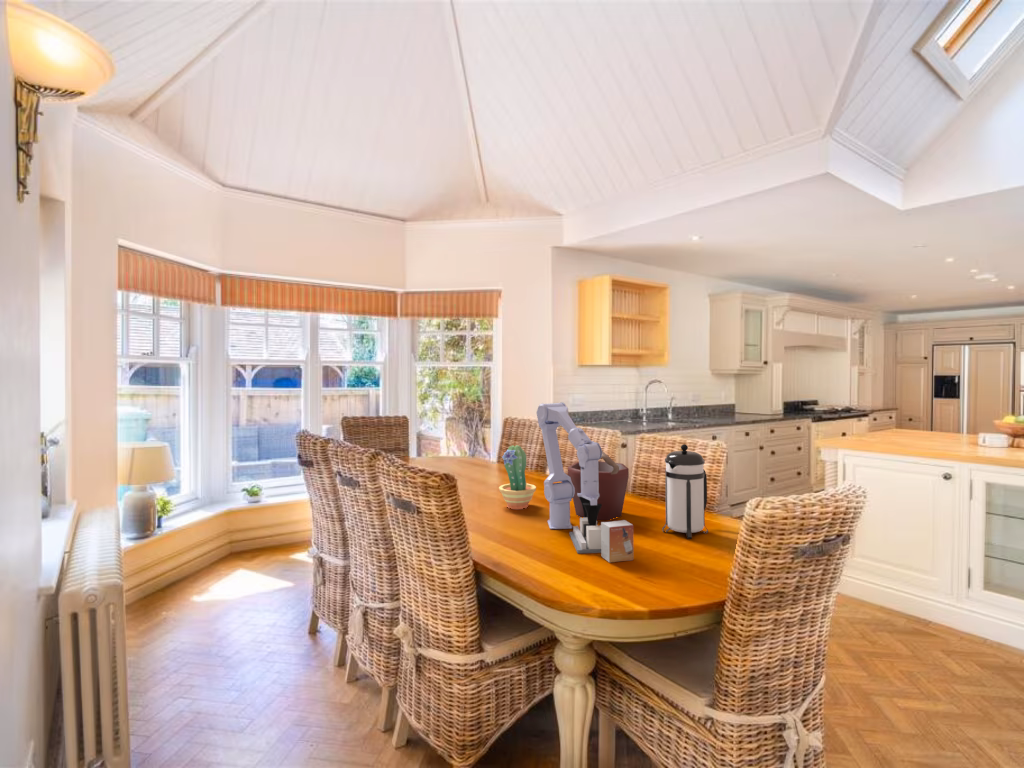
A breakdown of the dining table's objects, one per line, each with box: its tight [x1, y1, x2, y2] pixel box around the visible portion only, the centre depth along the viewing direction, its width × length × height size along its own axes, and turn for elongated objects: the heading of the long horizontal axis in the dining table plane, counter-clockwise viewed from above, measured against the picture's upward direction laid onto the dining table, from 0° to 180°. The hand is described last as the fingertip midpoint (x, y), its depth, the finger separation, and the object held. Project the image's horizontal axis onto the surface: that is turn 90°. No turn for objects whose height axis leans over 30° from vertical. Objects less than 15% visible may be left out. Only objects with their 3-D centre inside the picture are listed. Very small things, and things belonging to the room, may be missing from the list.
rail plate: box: [569, 524, 601, 554], centre depth 169 cm, size 18×12×7 cm, turn 2°
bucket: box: [567, 450, 630, 521], centre depth 201 cm, size 24×22×25 cm
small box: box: [600, 519, 634, 563], centre depth 155 cm, size 8×6×10 cm
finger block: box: [579, 517, 598, 539], centre depth 172 cm, size 4×5×6 cm
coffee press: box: [661, 443, 709, 540], centre depth 179 cm, size 17×16×30 cm
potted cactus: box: [498, 444, 537, 510], centre depth 215 cm, size 15×15×25 cm
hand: (590, 521), depth 172 cm, fingers open, 7 cm apart
